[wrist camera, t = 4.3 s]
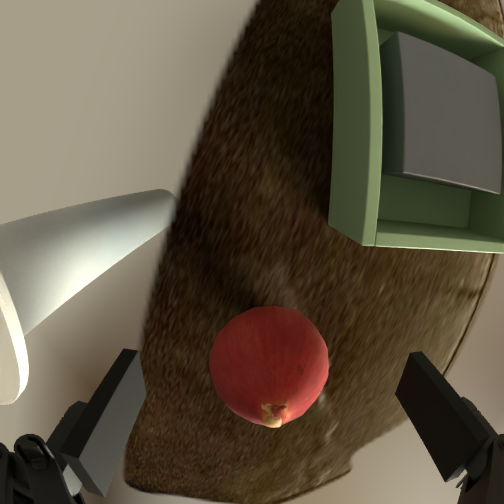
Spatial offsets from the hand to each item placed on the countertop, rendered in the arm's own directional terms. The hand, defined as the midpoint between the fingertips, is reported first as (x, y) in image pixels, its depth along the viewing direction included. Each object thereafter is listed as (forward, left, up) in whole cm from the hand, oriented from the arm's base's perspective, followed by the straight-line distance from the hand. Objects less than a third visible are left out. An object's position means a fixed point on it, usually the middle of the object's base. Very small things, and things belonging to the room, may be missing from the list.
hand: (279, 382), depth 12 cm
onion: (0, 0, -5) cm, 5 cm away
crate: (+8, +13, -5) cm, 16 cm away
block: (+8, +13, -5) cm, 16 cm away
